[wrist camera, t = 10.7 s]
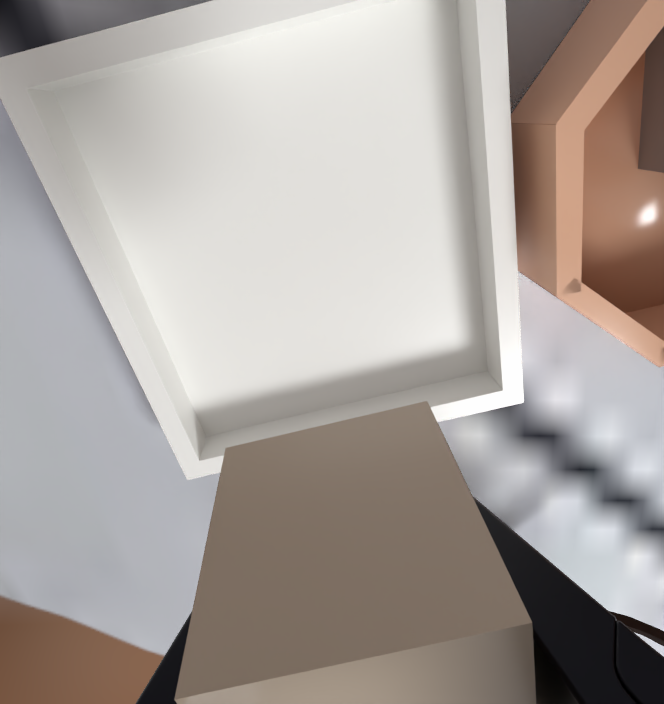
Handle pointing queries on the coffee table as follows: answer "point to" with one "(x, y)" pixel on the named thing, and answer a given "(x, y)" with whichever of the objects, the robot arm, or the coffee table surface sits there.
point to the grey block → (653, 108)
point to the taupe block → (353, 576)
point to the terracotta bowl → (594, 177)
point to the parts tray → (289, 207)
